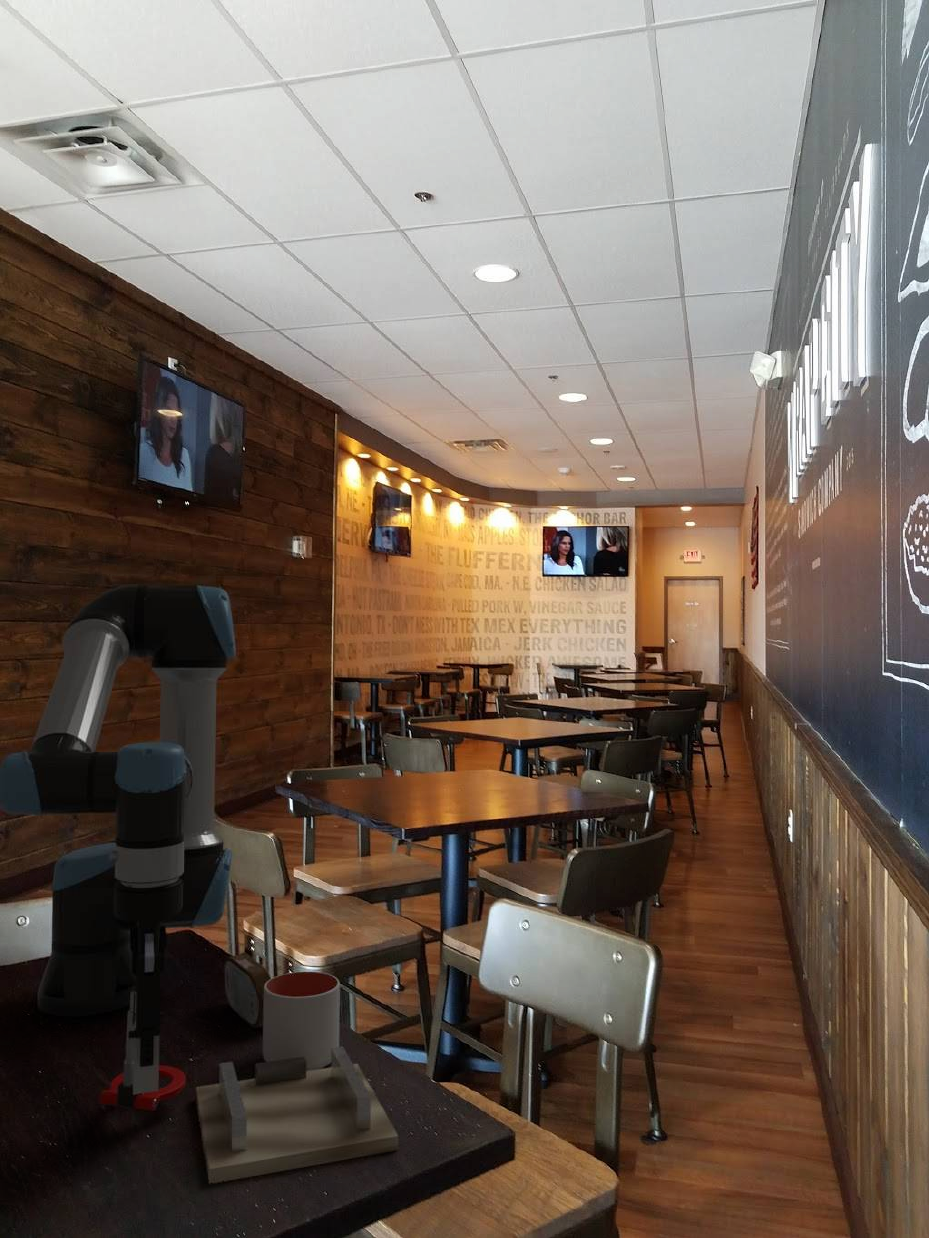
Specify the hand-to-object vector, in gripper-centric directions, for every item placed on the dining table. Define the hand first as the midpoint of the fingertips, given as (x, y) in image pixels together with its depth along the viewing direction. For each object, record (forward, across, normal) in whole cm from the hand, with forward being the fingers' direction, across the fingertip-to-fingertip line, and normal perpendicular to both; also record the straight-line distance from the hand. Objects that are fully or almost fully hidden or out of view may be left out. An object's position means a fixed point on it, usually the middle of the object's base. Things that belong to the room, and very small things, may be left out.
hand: (145, 1085), depth 107 cm
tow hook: (+2, -3, 0) cm, 4 cm away
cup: (+5, -11, +20) cm, 23 cm away
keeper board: (+4, +5, +16) cm, 17 cm away
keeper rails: (+3, +4, +16) cm, 17 cm away
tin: (+5, -28, +15) cm, 32 cm away
